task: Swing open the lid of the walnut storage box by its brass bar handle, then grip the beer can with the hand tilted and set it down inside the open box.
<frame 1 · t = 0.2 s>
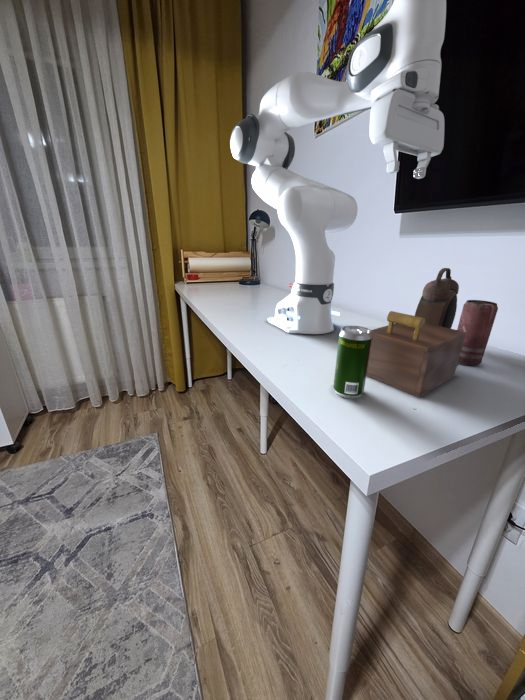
hand: (406, 175, 60), 39 cm above the table, tool pointing down, fingers open, 8 cm apart
alarm clock: (429, 346, 77), on the table
lid: (418, 323, 56), point 11 cm above the table, hinge at 0.0°
chest: (408, 375, 60), on the table
beer can: (347, 393, 53), on the table
can: (465, 362, 67), on the table
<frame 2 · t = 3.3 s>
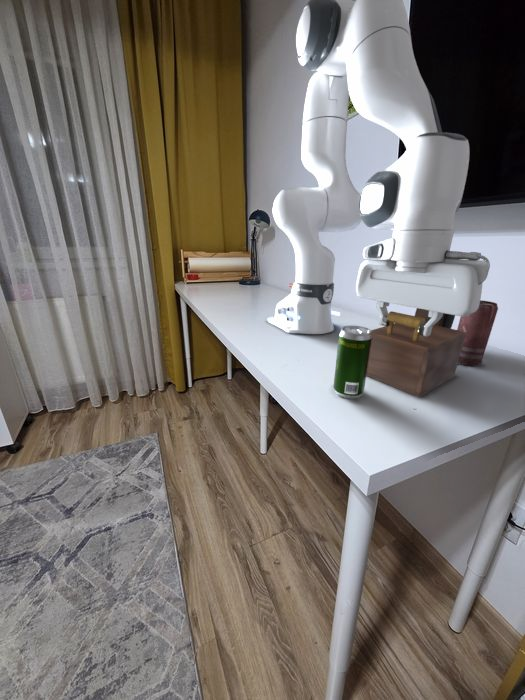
hand: (403, 329, 53), 11 cm above the table, tool pointing down, fingers closed on lid, 6 cm apart
lid: (418, 323, 56), point 11 cm above the table, hinge at -0.2°, touching gripper
everything else where it was.
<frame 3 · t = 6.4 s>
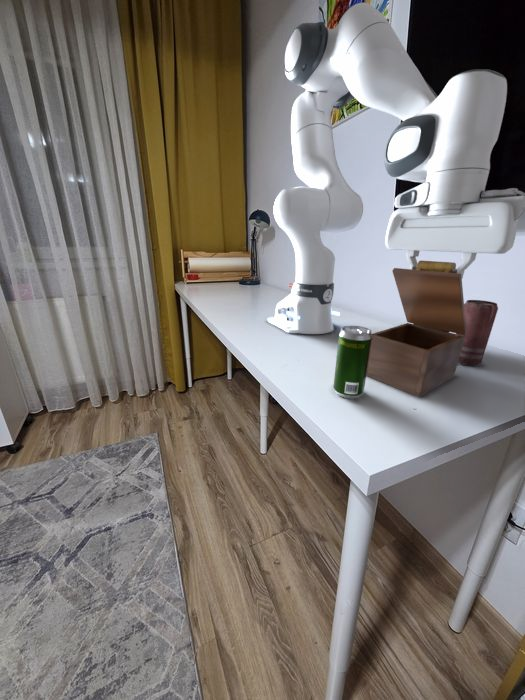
hand: (433, 277, 54), 20 cm above the table, tool pointing down, fingers closed on lid, 6 cm apart
lid: (435, 294, 56), point 16 cm above the table, hinge at 50.0°, touching gripper
everything else where it was.
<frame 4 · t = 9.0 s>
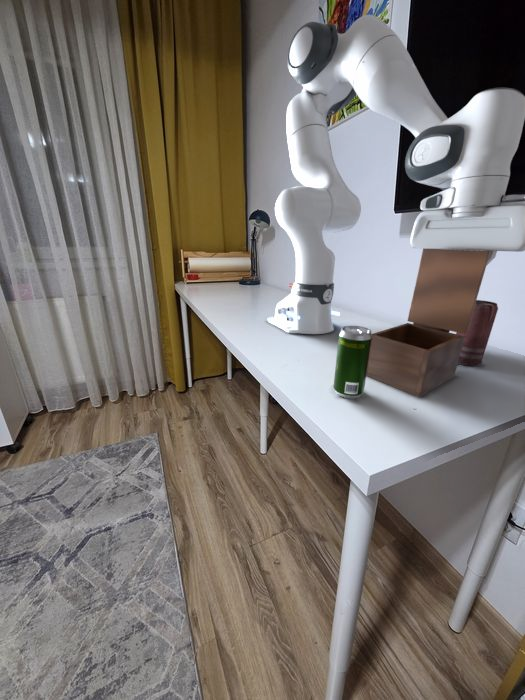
hand: (456, 273, 59), 20 cm above the table, tool pointing down, fingers closed on lid, 6 cm apart
lid: (448, 289, 59), point 17 cm above the table, hinge at 92.3°, touching gripper
everything else where it was.
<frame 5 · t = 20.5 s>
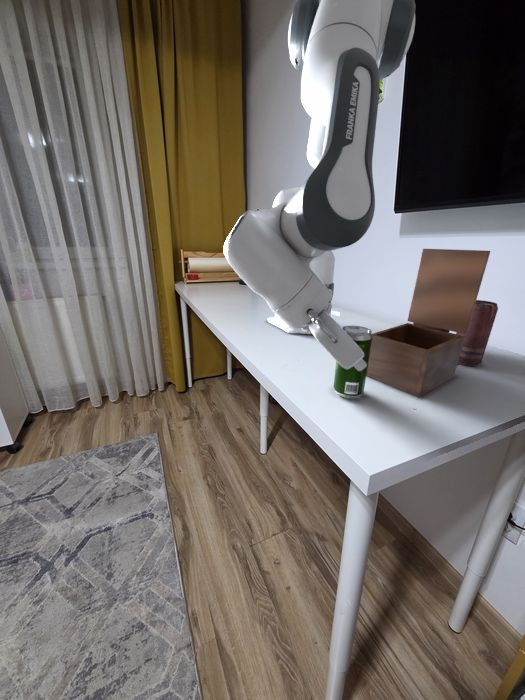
hand: (355, 359, 51), 7 cm above the table, tool tilted 45°, fingers closed on beer can, 5 cm apart
lid: (448, 289, 59), point 17 cm above the table, hinge at 92.2°
beer can: (347, 393, 53), on the table, touching gripper
everything else where it was.
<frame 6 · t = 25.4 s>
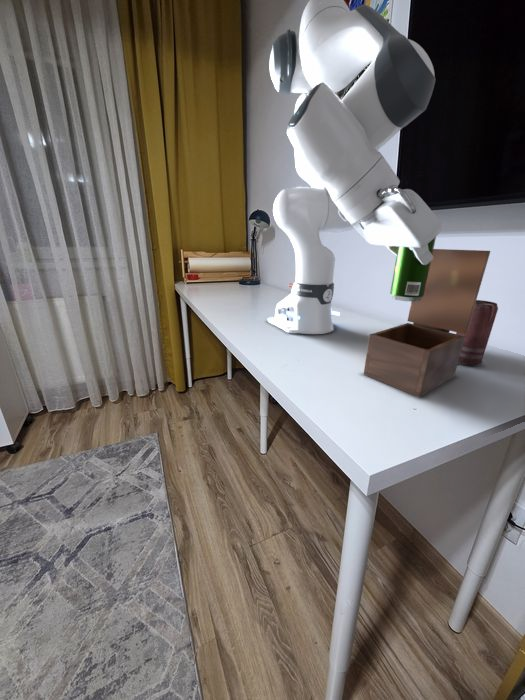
hand: (416, 260, 49), 23 cm above the table, tool tilted 45°, fingers closed on beer can, 5 cm apart
beer can: (405, 299, 52), point 16 cm above the table, touching gripper
everything else where it was.
when the fingers open (8 cm above the table, at t = 30.3 s): beer can stays where it is, resting on chest.
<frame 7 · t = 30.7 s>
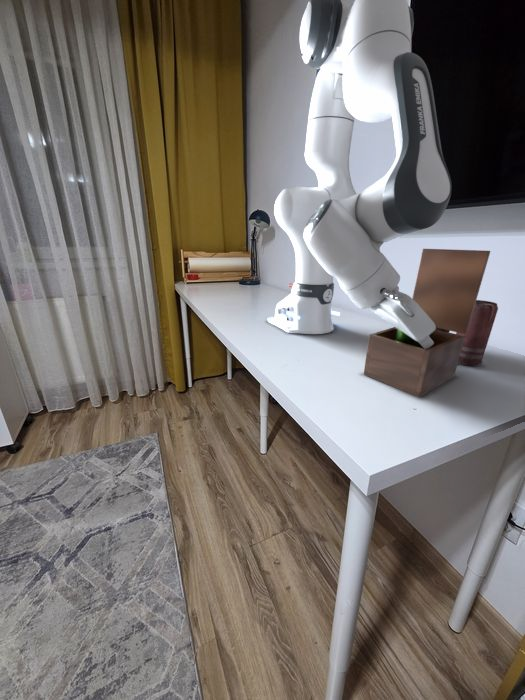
hand: (414, 336, 56), 9 cm above the table, tool tilted 45°, fingers open, 8 cm apart
beer can: (403, 375, 59), point 1 cm above the table, touching chest
everything else where it was.
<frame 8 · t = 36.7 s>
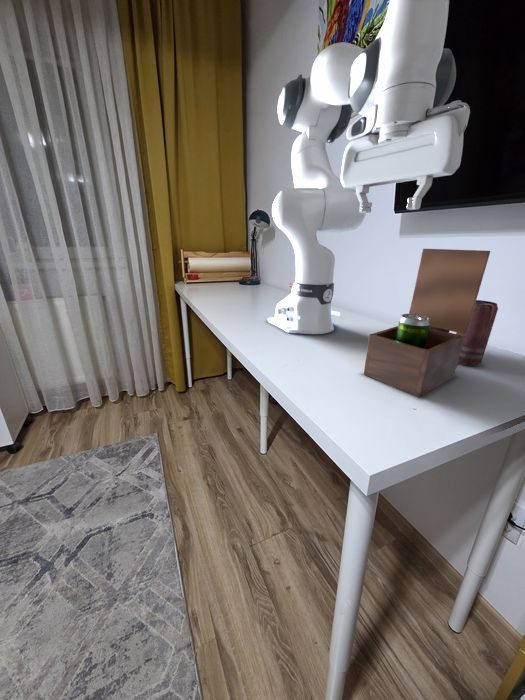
hand: (387, 211, 53), 31 cm above the table, tool pointing down, fingers open, 8 cm apart
nothing on the table moved.
at the end: lid at +92° (first picture: +0°); beer can inside the target area in the chest (2.1 cm from its centre), point 0.6 cm above the chest's base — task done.
